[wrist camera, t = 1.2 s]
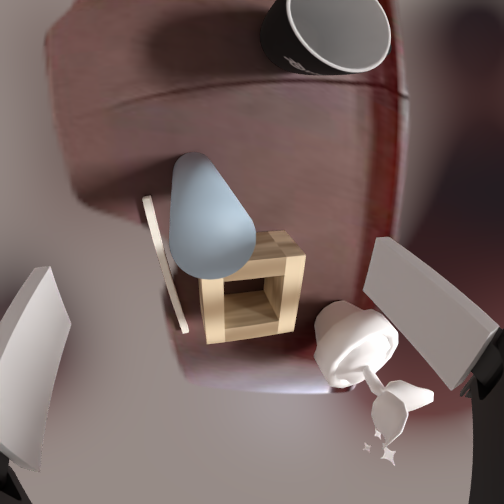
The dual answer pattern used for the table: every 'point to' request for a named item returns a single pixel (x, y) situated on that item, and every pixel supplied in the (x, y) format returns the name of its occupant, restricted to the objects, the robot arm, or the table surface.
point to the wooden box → (256, 293)
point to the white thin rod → (164, 261)
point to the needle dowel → (207, 221)
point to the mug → (326, 36)
